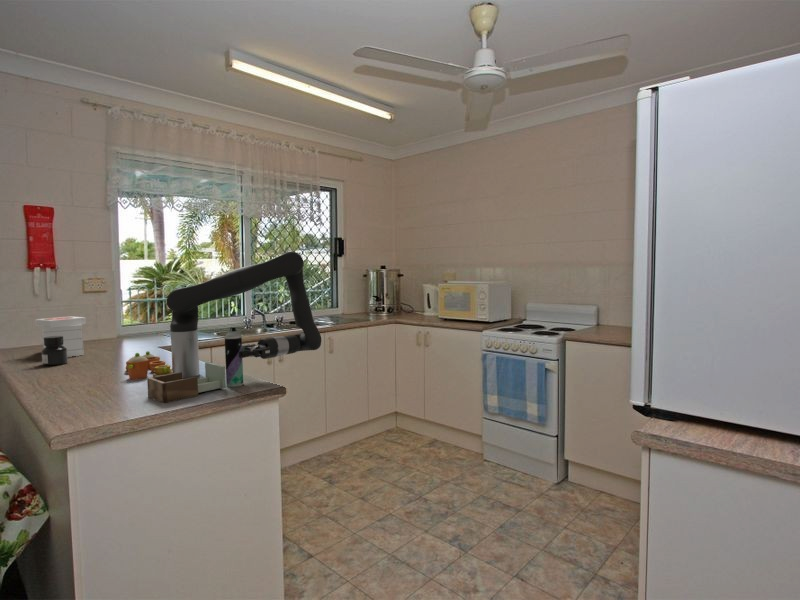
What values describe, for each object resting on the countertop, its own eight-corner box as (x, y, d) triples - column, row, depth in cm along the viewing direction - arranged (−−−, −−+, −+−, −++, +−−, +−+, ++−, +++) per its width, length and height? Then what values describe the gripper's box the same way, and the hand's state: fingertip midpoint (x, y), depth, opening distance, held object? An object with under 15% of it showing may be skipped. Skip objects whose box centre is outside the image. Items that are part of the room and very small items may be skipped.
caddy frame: (148, 396, 146) (147, 378, 145) (181, 389, 154) (180, 372, 153) (163, 403, 138) (162, 383, 138) (198, 395, 146) (197, 376, 146)
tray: (178, 388, 153) (176, 367, 152) (208, 382, 161) (207, 362, 160) (194, 394, 145) (193, 372, 145) (225, 387, 153) (224, 366, 153)
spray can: (225, 387, 156) (223, 328, 155) (227, 383, 161) (225, 326, 160) (242, 386, 157) (240, 327, 156) (243, 382, 163) (241, 326, 161)
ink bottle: (45, 363, 204) (44, 336, 203) (70, 361, 207) (68, 334, 207) (39, 367, 195) (37, 339, 194) (64, 365, 199) (63, 337, 198)
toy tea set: (176, 376, 176) (175, 351, 175) (129, 382, 166) (127, 356, 166) (161, 365, 196) (160, 343, 196) (119, 371, 187) (118, 347, 186)
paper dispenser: (83, 348, 244) (80, 314, 243) (89, 355, 221) (86, 318, 220) (37, 352, 232) (34, 316, 231) (38, 361, 209) (35, 321, 208)
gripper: (262, 335, 175) (221, 340, 163) (284, 338, 166) (243, 344, 153) (262, 355, 176) (222, 361, 163) (285, 359, 166) (244, 367, 154)
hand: (232, 353), depth 158 cm, fingers open, 8 cm apart
